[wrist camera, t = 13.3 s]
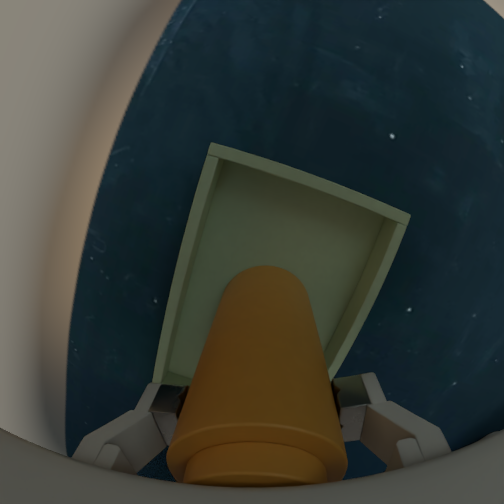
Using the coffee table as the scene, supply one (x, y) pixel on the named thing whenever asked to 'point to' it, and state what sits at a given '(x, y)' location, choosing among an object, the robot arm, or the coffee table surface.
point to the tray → (276, 252)
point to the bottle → (260, 393)
